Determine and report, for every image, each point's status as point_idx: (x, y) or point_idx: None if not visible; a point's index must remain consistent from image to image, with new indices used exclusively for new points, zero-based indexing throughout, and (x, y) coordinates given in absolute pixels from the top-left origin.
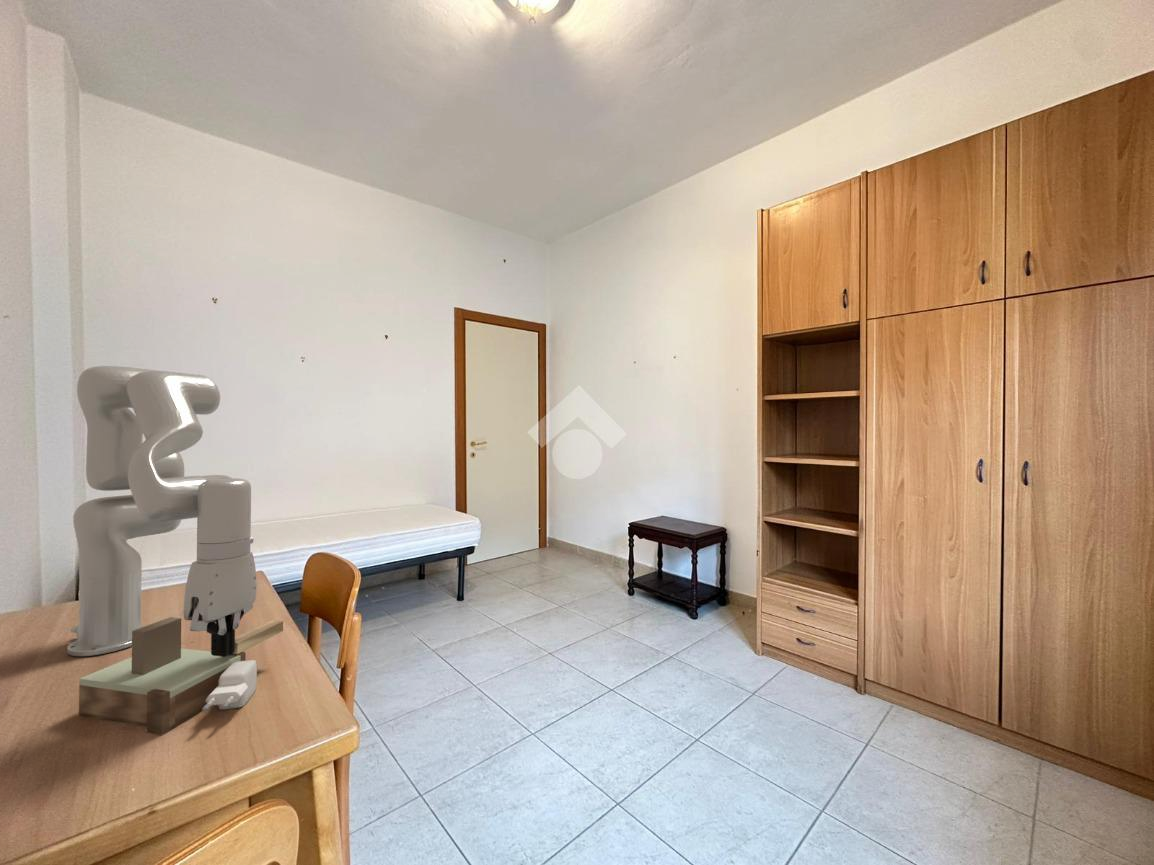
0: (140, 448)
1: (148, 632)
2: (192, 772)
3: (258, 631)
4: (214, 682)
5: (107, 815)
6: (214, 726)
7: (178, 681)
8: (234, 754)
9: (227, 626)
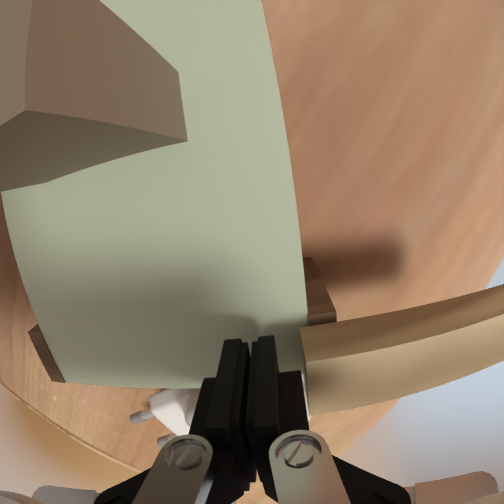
0: None
1: None
2: (105, 435)
3: (442, 374)
4: None
5: (37, 404)
6: None
7: (90, 357)
8: (151, 455)
9: (270, 492)
